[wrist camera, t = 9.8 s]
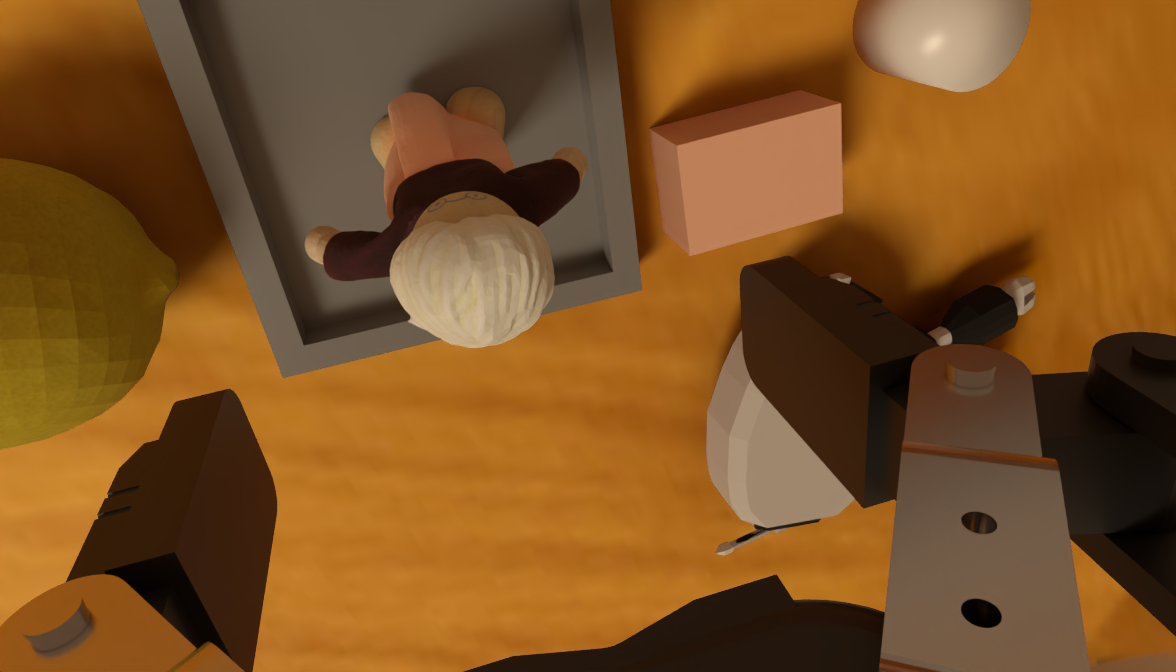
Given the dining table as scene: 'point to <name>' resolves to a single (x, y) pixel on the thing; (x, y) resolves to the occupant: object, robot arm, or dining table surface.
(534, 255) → the grandmother figurine
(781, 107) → the terracotta block
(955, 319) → the robot toy
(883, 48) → the white rounded cylinder block
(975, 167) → the dining table surface
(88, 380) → the lemon
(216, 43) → the tray
